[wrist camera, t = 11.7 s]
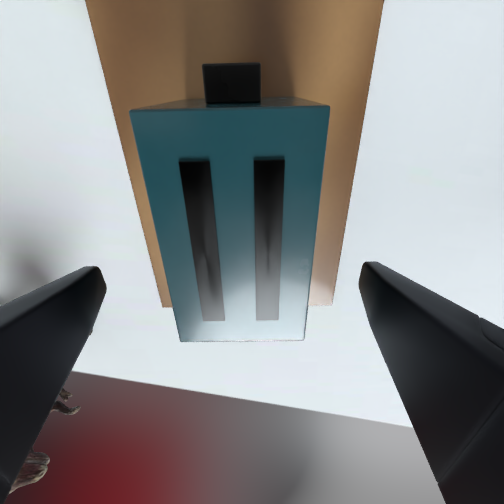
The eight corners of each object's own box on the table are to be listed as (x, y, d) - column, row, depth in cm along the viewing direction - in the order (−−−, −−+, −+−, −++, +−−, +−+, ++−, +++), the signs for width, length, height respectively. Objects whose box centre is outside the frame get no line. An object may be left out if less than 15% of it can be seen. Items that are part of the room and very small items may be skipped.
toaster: (287, 254, 20) (304, 342, 13) (204, 255, 20) (179, 344, 13) (297, 69, 14) (338, 54, 7) (181, 72, 14) (113, 59, 7)
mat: (397, -98, 12) (402, -103, 11) (330, 302, 23) (332, 305, 23) (67, -86, 12) (61, -91, 11) (163, 304, 23) (162, 307, 23)
